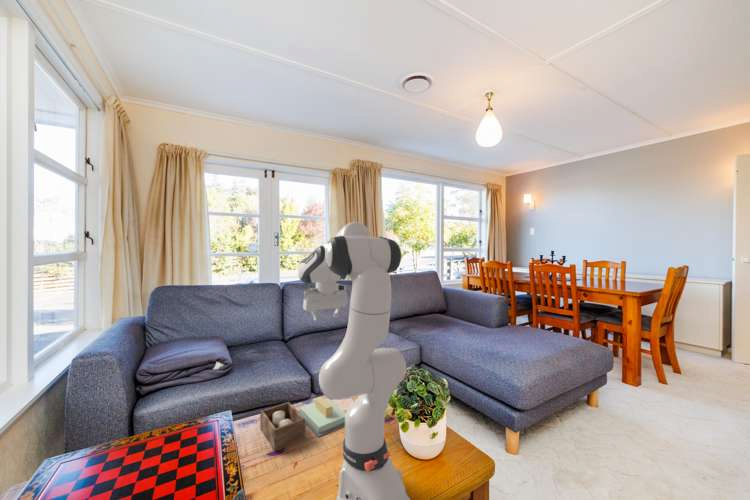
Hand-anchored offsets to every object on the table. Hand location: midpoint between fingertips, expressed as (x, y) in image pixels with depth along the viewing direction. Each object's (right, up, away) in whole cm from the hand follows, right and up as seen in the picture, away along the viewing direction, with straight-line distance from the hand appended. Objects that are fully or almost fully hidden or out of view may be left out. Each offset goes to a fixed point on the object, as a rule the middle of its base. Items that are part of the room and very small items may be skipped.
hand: (326, 318), depth 130 cm
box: (-13, -37, -21) cm, 45 cm away
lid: (+1, -37, -10) cm, 38 cm away
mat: (+1, -37, -10) cm, 39 cm away
